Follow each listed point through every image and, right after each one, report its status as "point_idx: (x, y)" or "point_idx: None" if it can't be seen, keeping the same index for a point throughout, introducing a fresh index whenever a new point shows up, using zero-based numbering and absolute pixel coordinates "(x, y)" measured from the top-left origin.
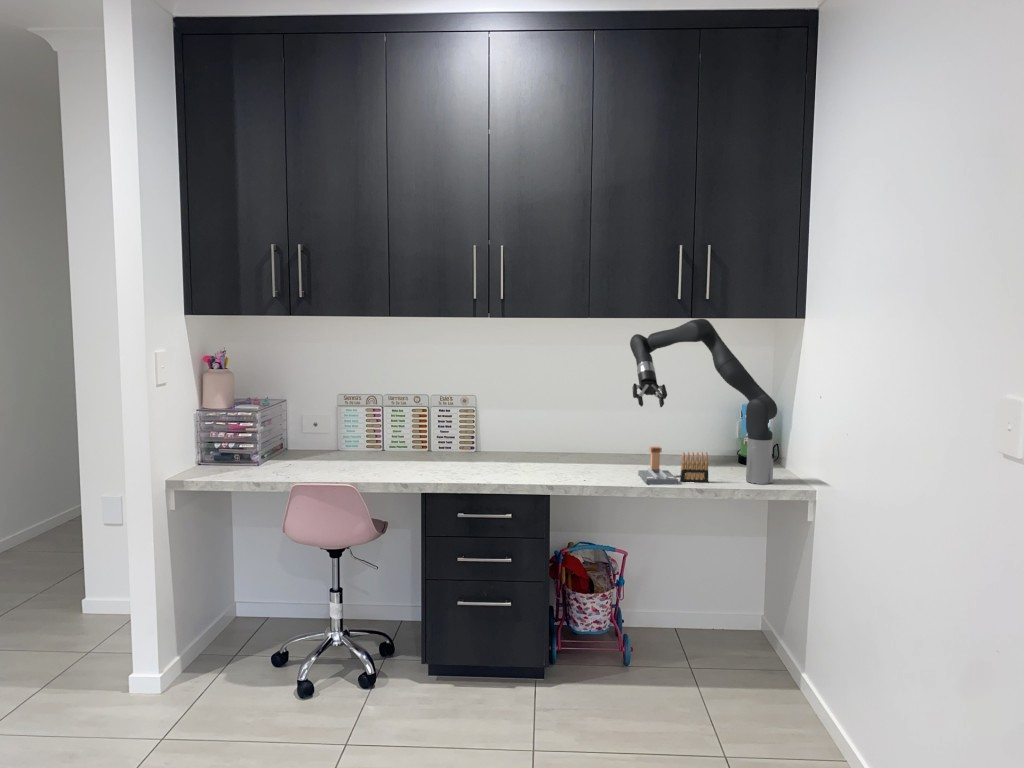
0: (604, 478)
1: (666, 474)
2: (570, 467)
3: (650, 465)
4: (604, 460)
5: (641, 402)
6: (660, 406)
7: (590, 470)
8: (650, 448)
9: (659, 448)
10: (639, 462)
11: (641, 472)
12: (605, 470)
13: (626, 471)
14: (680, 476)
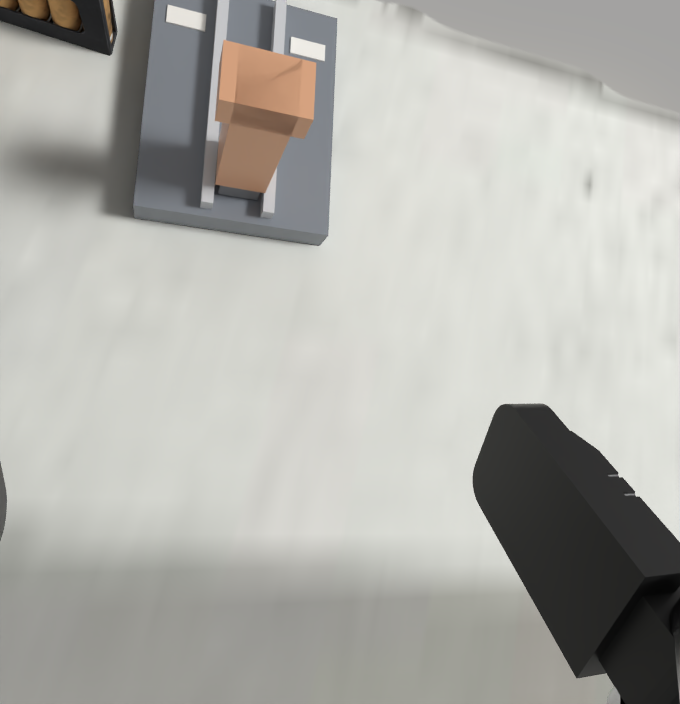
0: (502, 204)
1: (185, 95)
2: (630, 476)
3: (268, 183)
4: (436, 697)
5: (559, 426)
6: (2, 495)
7: (545, 394)
8: (314, 74)
9: (242, 46)
10: (209, 641)
11: (324, 177)
12: (472, 388)
13: (364, 351)
14: (108, 32)
